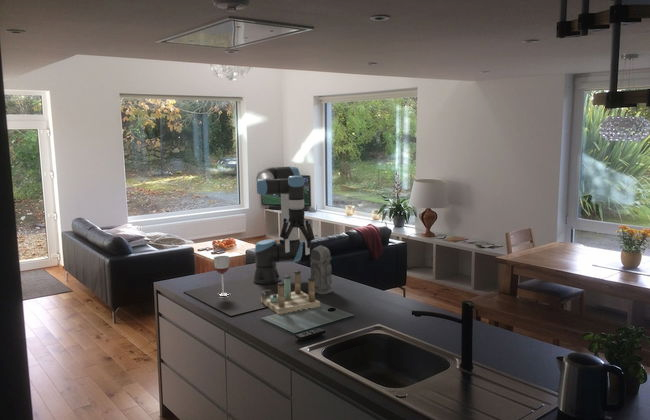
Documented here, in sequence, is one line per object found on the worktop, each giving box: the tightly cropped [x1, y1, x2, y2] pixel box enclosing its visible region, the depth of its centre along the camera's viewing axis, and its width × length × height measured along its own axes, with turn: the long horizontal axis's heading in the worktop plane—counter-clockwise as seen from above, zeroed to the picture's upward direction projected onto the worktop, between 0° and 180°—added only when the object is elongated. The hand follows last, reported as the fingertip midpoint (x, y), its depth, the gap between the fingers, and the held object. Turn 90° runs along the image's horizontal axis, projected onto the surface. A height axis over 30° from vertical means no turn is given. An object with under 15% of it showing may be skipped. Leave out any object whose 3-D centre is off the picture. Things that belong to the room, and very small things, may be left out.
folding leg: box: [270, 275, 292, 303], centre depth 267 cm, size 12×4×11 cm, turn 133°
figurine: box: [309, 244, 333, 295], centre depth 289 cm, size 10×14×25 cm
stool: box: [260, 270, 321, 315], centre depth 268 cm, size 22×22×14 cm
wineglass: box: [213, 255, 230, 297], centre depth 285 cm, size 8×9×20 cm
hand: (297, 253), depth 265 cm, fingers open, 11 cm apart
